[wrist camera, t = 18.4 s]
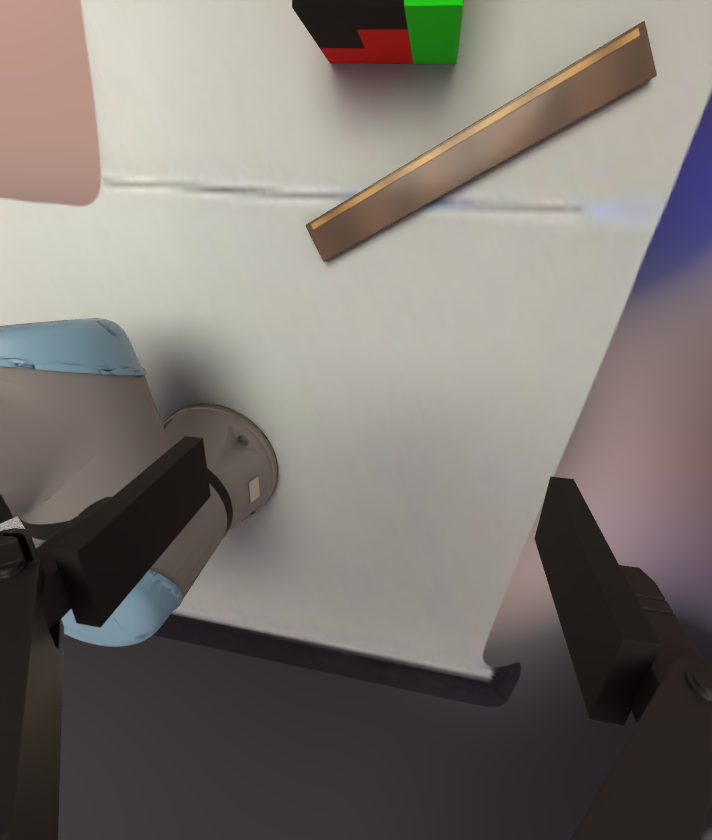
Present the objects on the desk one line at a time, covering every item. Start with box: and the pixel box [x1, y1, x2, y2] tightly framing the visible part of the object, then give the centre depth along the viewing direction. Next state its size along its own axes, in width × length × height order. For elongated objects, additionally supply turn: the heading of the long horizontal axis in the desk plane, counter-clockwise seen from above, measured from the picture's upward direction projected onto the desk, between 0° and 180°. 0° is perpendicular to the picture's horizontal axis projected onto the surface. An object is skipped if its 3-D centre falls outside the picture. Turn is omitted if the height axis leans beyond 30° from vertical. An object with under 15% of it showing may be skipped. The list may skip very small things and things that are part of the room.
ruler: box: [306, 21, 657, 261], centre depth 35 cm, size 28×4×1 cm, turn 118°
